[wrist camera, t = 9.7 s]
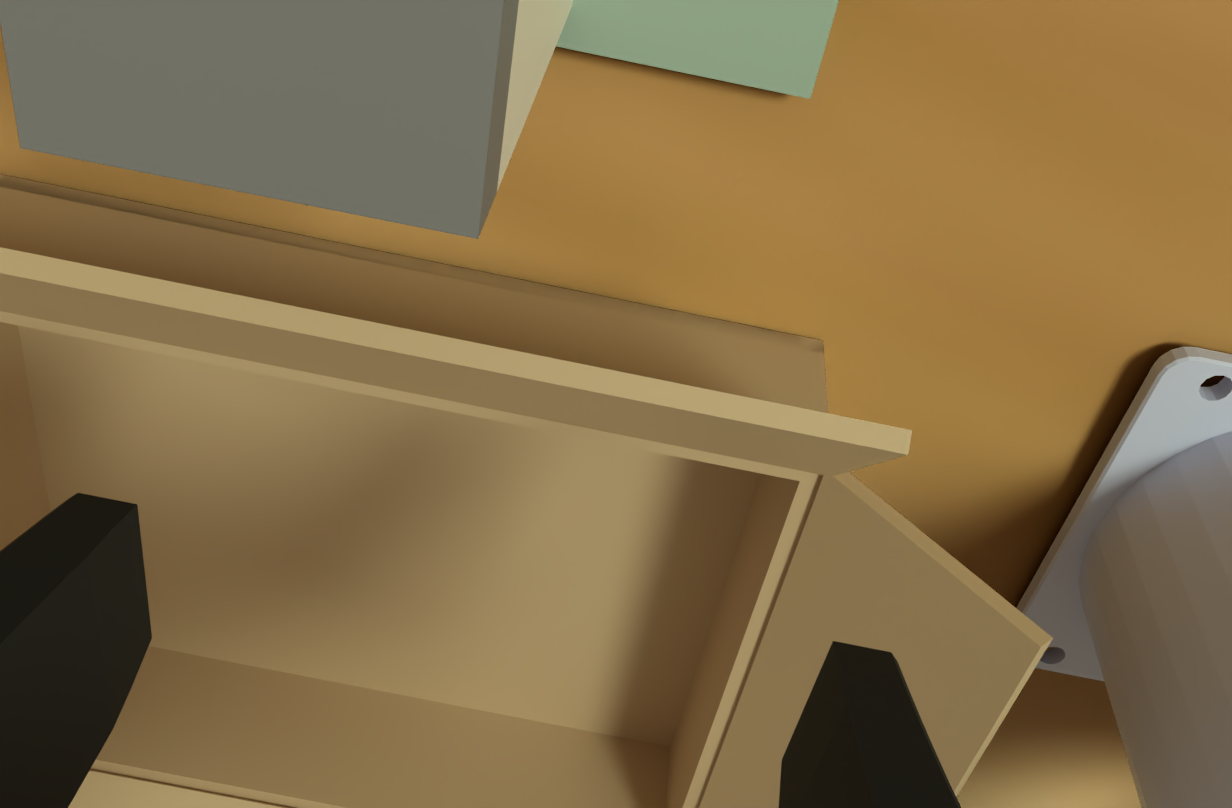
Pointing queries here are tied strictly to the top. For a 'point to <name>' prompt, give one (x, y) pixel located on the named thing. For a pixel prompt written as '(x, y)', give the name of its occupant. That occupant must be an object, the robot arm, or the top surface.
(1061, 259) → the top surface
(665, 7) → the pad
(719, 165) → the top surface
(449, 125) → the block
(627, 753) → the carton
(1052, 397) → the top surface
